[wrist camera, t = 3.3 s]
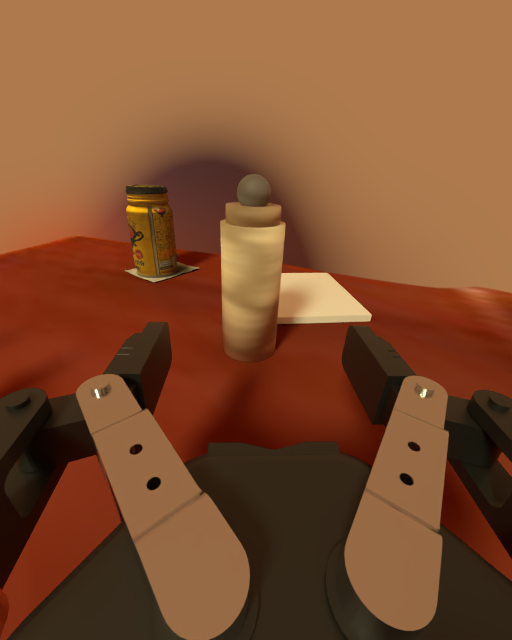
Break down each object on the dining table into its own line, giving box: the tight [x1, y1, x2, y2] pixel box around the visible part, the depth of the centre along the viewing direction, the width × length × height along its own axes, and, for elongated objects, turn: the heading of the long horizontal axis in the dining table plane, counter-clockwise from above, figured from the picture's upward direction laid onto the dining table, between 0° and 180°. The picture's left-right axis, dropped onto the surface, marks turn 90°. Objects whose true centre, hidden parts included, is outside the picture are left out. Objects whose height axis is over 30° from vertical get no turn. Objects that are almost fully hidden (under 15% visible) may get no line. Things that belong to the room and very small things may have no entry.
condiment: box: [125, 185, 198, 282], centre depth 41 cm, size 7×8×12 cm
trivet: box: [277, 273, 372, 324], centre depth 37 cm, size 14×14×1 cm
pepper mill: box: [221, 174, 285, 362], centre depth 23 cm, size 5×5×14 cm
